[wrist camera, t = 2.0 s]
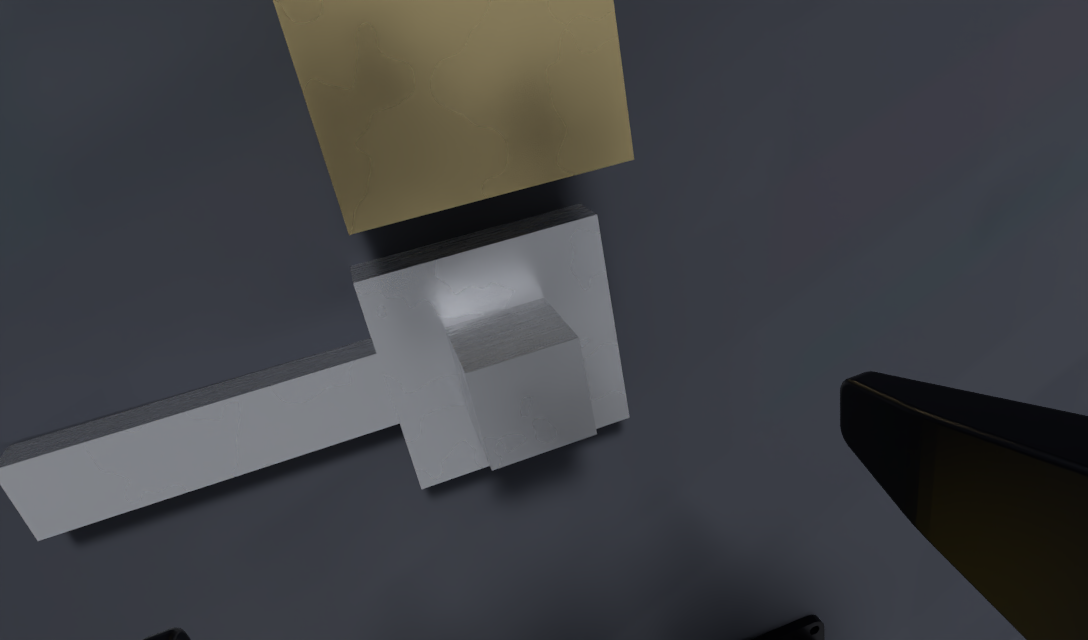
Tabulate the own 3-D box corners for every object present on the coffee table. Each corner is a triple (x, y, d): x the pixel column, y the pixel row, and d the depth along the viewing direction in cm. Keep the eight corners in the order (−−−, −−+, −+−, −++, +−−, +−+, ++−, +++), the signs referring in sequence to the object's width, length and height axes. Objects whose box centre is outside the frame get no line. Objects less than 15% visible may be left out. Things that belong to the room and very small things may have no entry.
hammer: (579, 202, 21) (641, 242, 17) (611, 396, 24) (671, 468, 20) (-37, 373, 18) (-137, 471, 14) (90, 572, 21) (37, 700, 17)
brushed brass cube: (506, -119, 17) (588, -184, 12) (549, 124, 20) (634, 159, 15) (260, -76, 16) (232, -126, 11) (340, 176, 19) (349, 235, 13)
